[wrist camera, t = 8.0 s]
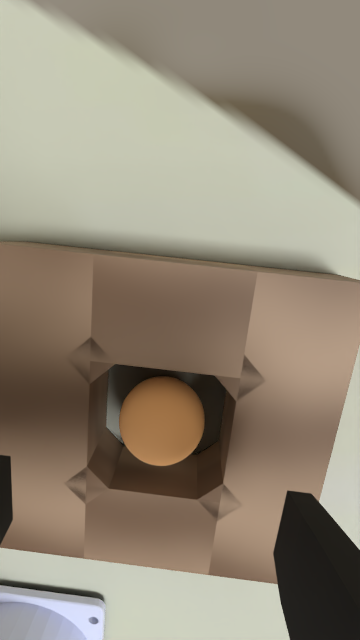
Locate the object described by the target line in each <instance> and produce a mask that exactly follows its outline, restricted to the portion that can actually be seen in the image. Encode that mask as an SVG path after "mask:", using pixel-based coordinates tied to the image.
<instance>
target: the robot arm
mask: <svg viewBox="0 0 360 640" xmlns="http://www.w3.org/2000/svg"><path fill="white" fill-rule="evenodd" d="M12 521H13V506H12V480H11V456H6V455H0V545H1V543H2V541H3V539H4V537H5V535H6V533H7V531H8V529H9V527H10V525H11V523H12ZM273 556H274V562H275V569H276V576H277V582H278V588H279V594H280V600H281V605H282V609H283V613H284V617H285V621H286V625H287V629H288V633H289V637H290V640H360V550H359V549H358V548H357V546H356V545H355V544H354V543H353V542H352V541H351V539H350V538H349V537H348V536H347V535H346V534H345V532H344V531H343V530H342V529H341V528H340V526H339V525H338V524H337V523H336V522H335V521H334V519H333V518H332V517H331V516H330V515H329V513H328V512H327V511H326V510H325V509H324V507H323V506H322V505H321V504H320V503H319V502H318V500H317V499H316V498H315V497H314V496H313V495H312V494H311V493H304V492H296V491H288V490H287V494H286V498H285V503H284V507H283V511H282V516H281V520H280V525H279V529H278V534H277V538H276V543H275V547H274V551H273ZM105 608H106V607H105V603H104V602H103V601H102V600H100V599H98V598H92V597H84V596H77V595H69V594H62V593H54V592H47V591H40V590H32V589H25V588H17V587H10V586H2V585H0V640H104V626H105Z"/></svg>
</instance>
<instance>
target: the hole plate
mask: <svg viewBox="0 0 360 640" xmlns="http://www.w3.org/2000/svg"><path fill="white" fill-rule="evenodd" d="M359 345H360V280H356V279H352V278H348V277H344V276H341V275H334V274H324V273H315V272H306V271H296V270H287V269H278V268H268V267H259V266H249V265H240V264H231V263H221V262H212V261H203V260H193V259H184V258H175V257H165V256H156V255H147V254H137V253H128V252H118V251H109V250H100V249H90V248H81V247H72V246H62V245H53V244H44V243H34V242H25V241H18V242H0V455H6V456H11V480H12V506H13V521H12V523H11V525H10V527H9V529H8V531H7V533H6V535H5V537H4V539H3V541H2V543H1V545H0V548H8V549H15V550H23V551H31V552H38V553H46V554H53V555H61V556H69V557H76V558H84V559H91V560H99V561H107V562H114V563H122V564H129V565H137V566H145V567H152V568H160V569H167V570H175V571H183V572H190V573H198V574H205V575H213V576H220V577H228V578H236V579H243V580H251V581H258V582H266V583H274V584H278V582H277V576H276V569H275V562H274V556H273V551H274V547H275V543H276V538H277V534H278V529H279V525H280V520H281V516H282V511H283V507H284V503H285V498H286V494H287V490H288V491H296V492H304V493H311V494H312V495H313V496H314V497H315V498H316V499H317V500H318V502H319V499H320V495H321V491H322V488H323V484H324V480H325V476H326V472H327V468H328V464H329V460H330V457H331V453H332V449H333V445H334V441H335V437H336V433H337V430H338V426H339V422H340V418H341V414H342V410H343V406H344V403H345V399H346V395H347V391H348V387H349V383H350V379H351V376H352V372H353V368H354V364H355V360H356V356H357V352H358V348H359ZM115 364H121V365H129V366H138V367H147V368H155V369H164V370H173V371H181V372H190V373H199V374H207V375H215V376H216V378H217V379H218V380H219V381H220V382H221V384H222V385H223V386H224V387H225V388H226V395H225V402H224V409H223V415H222V422H221V428H220V435H219V441H218V442H216V443H215V444H213V445H212V446H210V447H209V448H207V449H205V450H204V451H202V452H201V453H199V454H198V455H193V454H190V455H189V456H187V457H186V458H185V459H183V460H181V461H179V462H177V463H175V464H172V465H167V466H156V465H151V464H148V463H145V462H143V461H141V460H139V459H138V458H137V457H135V456H134V455H133V454H132V453H131V452H130V451H129V450H128V448H127V447H126V446H123V445H122V444H121V443H120V442H119V441H118V440H117V438H116V437H115V436H114V435H113V434H112V433H111V432H110V431H109V430H108V429H107V428H106V413H107V392H108V372H109V368H111V367H112V366H113V365H115Z"/></svg>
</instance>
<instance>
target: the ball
mask: <svg viewBox="0 0 360 640" xmlns="http://www.w3.org/2000/svg"><path fill="white" fill-rule="evenodd" d="M204 424H205V416H204V410H203V406H202V403H201V401H200V399H199V397H198V396H197V394H196V393H195V391H194V390H193V389H192V388H191V387H190V386H189V385H187V384H186V383H184V382H183V381H181V380H179V379H176V378H173V377H167V376H158V377H152V378H149V379H147V380H145V381H143V382H141V383H139V384H138V385H136V386H135V387H134V388H133V389H132V390H131V391H130V392H129V394H128V395H127V397H126V398H125V400H124V402H123V404H122V407H121V411H120V416H119V427H120V433H121V436H122V439H123V441H124V443H125V445H126V447H127V448H128V450H129V451H130V452H131V453H132V454H133V455H134V456H135V457H137V458H138V459H139V460H141V461H143V462H145V463H148V464H151V465H156V466H167V465H172V464H175V463H177V462H179V461H181V460H183V459H185V458H186V457H187V456H189V455H190V454H191V453H192V452H193V451H194V449H195V448H196V447H197V445H198V443H199V442H200V440H201V437H202V434H203V431H204Z"/></svg>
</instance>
